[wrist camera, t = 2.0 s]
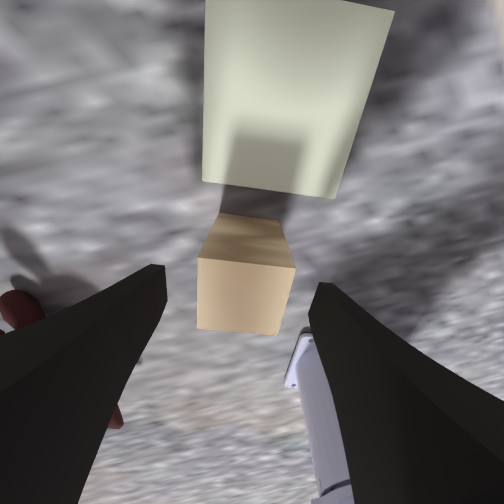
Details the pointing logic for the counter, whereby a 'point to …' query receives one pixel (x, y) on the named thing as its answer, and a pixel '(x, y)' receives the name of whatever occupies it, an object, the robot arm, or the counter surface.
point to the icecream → (27, 312)
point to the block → (244, 276)
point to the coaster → (286, 90)
